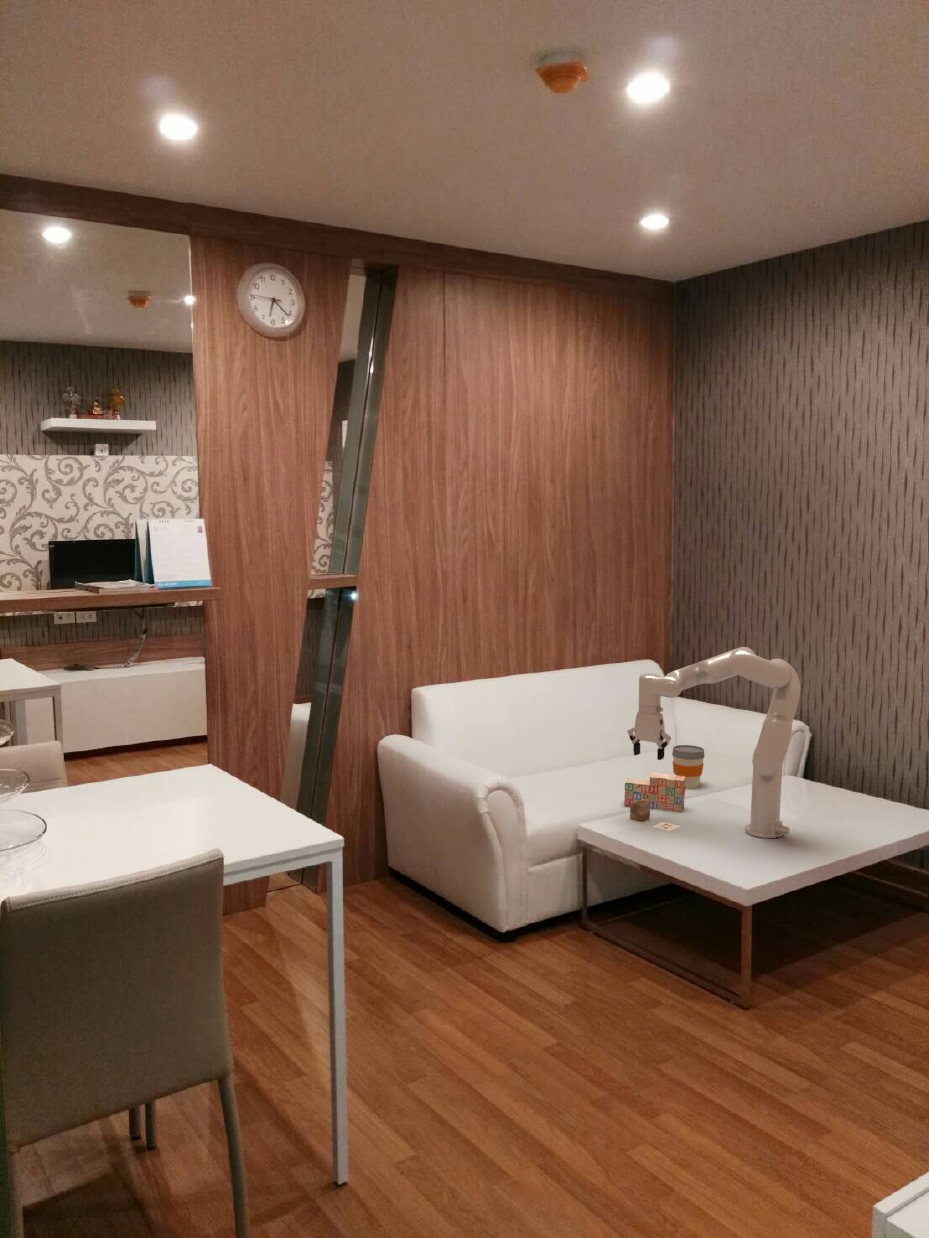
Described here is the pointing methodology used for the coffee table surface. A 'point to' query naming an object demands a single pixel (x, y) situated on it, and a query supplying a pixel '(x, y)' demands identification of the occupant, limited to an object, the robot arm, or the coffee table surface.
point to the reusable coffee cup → (688, 764)
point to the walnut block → (640, 811)
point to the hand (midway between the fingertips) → (648, 756)
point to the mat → (660, 825)
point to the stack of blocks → (657, 791)
